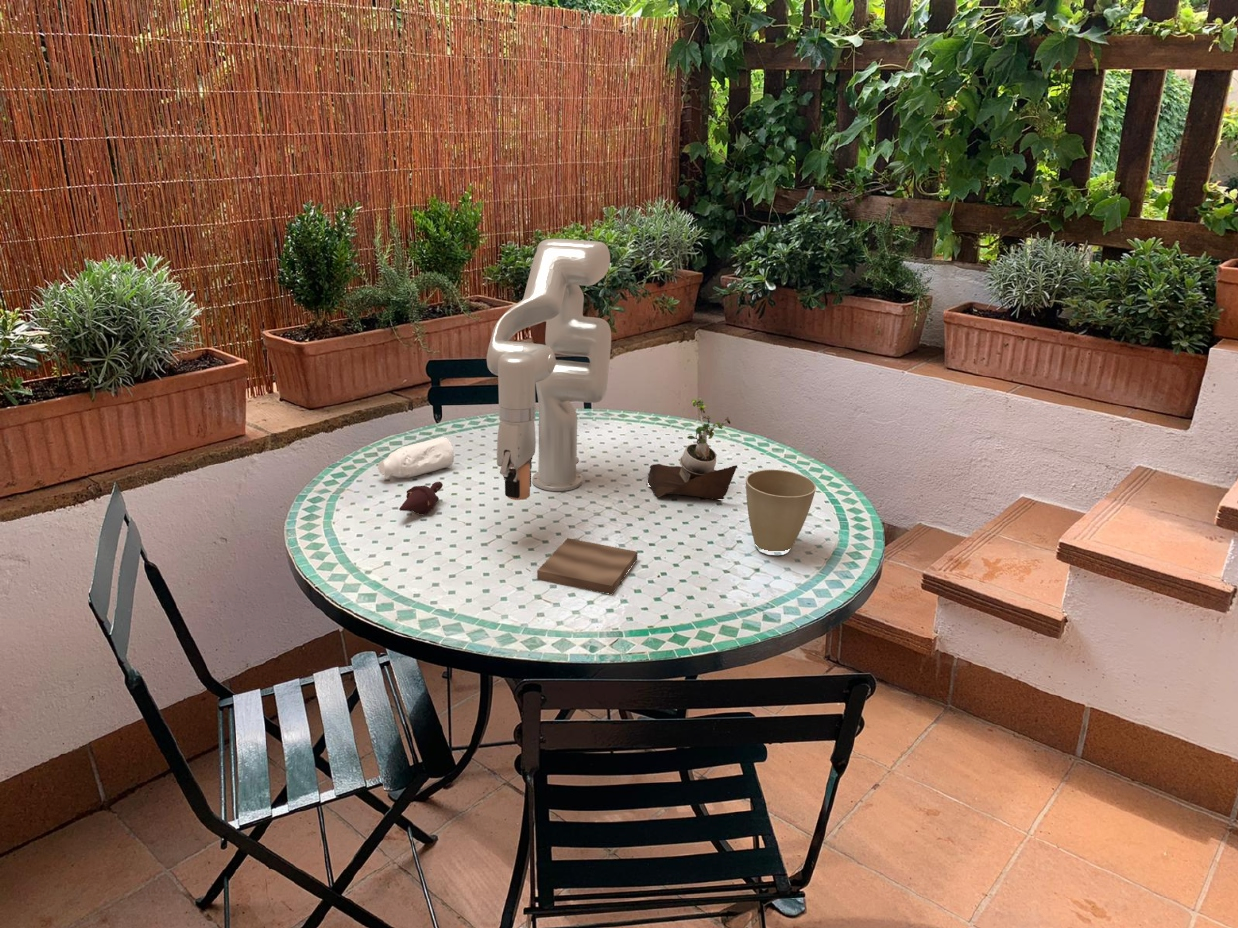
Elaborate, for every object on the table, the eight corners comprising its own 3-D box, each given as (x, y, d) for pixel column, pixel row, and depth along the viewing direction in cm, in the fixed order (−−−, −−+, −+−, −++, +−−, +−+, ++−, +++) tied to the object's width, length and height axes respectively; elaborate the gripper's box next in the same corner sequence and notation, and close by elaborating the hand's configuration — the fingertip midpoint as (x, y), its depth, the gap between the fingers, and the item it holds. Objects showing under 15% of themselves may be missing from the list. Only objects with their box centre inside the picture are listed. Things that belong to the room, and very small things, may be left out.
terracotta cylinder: (512, 488, 202) (512, 459, 199) (533, 492, 200) (533, 462, 198) (502, 497, 198) (502, 467, 195) (524, 501, 196) (523, 471, 193)
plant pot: (755, 568, 195) (762, 498, 189) (729, 537, 208) (735, 471, 202) (819, 561, 199) (828, 493, 193) (789, 531, 212) (797, 467, 206)
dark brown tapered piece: (416, 503, 204) (455, 485, 217) (390, 488, 206) (430, 472, 219) (409, 529, 206) (448, 510, 219) (383, 515, 208) (424, 497, 222)
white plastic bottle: (373, 478, 232) (371, 449, 229) (438, 461, 244) (437, 433, 241) (390, 488, 226) (388, 458, 223) (455, 470, 238) (454, 441, 236)
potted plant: (718, 481, 245) (745, 403, 230) (721, 526, 230) (750, 447, 215) (645, 466, 243) (668, 387, 229) (643, 511, 228) (667, 430, 213)
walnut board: (567, 546, 201) (567, 537, 200) (637, 560, 196) (637, 551, 195) (537, 579, 187) (537, 570, 186) (611, 594, 182) (611, 585, 181)
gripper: (518, 397, 200) (519, 473, 207) (482, 422, 185) (484, 504, 192) (550, 402, 198) (550, 479, 205) (516, 428, 183) (517, 510, 190)
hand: (518, 490), depth 199 cm, fingers closed on terracotta cylinder, 5 cm apart
